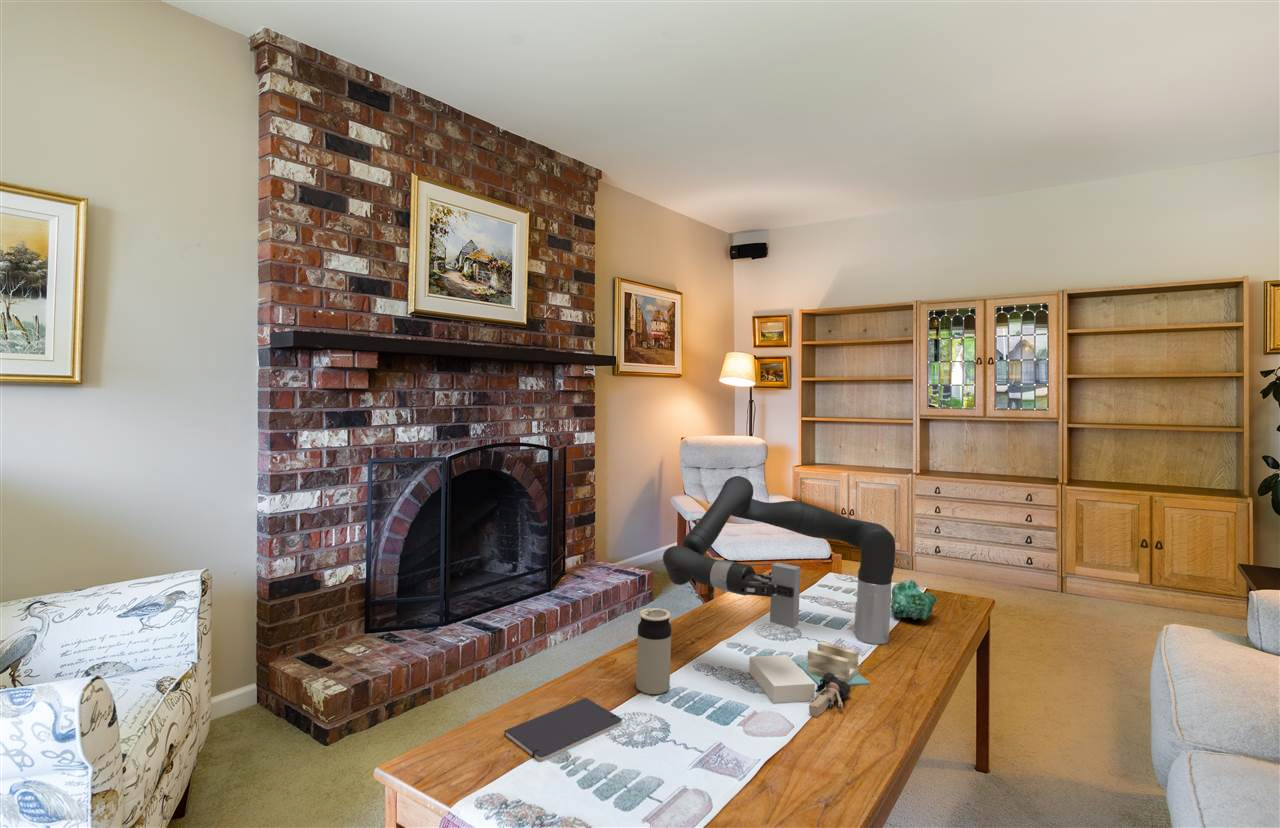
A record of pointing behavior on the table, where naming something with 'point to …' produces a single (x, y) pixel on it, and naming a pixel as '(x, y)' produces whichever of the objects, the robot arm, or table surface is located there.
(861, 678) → the mat
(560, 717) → the notebook
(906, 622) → the table surface
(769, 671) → the cream flat block
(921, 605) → the mineral
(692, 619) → the table surface
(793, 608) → the grey rectangular block
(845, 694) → the toy figure
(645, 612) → the travel mug
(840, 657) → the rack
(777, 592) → the robot arm
